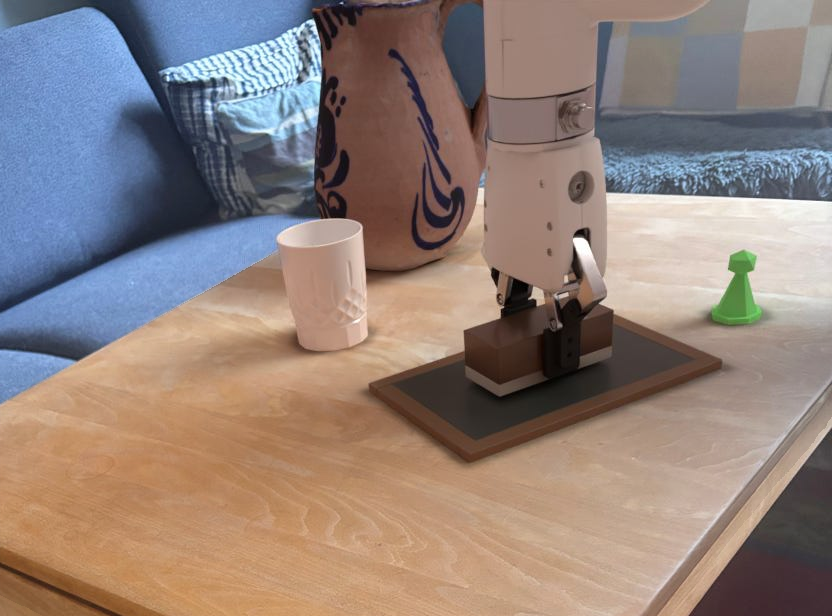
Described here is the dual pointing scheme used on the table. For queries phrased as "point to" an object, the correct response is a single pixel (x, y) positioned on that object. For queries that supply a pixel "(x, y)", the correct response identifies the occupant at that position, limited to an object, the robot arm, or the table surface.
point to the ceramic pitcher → (395, 130)
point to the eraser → (528, 347)
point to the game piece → (738, 293)
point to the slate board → (538, 392)
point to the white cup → (325, 282)
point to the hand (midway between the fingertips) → (539, 359)
